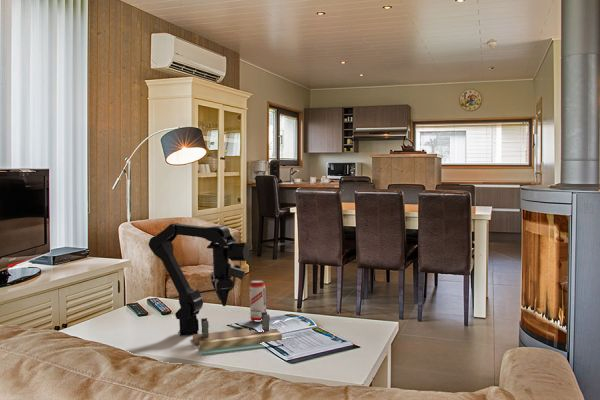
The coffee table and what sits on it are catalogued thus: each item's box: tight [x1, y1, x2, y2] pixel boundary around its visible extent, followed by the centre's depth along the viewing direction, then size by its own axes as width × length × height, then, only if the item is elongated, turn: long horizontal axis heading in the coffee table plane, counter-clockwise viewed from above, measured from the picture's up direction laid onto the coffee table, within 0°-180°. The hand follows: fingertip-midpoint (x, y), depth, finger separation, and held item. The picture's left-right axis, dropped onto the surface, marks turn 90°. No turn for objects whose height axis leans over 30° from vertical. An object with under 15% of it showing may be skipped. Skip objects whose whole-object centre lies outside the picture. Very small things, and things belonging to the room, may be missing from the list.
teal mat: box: [198, 344, 265, 356], centre depth 182 cm, size 28×9×1 cm, turn 106°
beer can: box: [249, 279, 267, 322], centre depth 212 cm, size 6×6×16 cm
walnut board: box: [192, 328, 280, 346], centre depth 192 cm, size 30×8×2 cm, turn 106°
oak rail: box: [198, 331, 283, 352], centre depth 182 cm, size 28×2×2 cm, turn 106°
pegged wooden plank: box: [200, 311, 271, 338], centre depth 192 cm, size 24×5×6 cm, turn 106°
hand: (222, 303), depth 194 cm, fingers open, 9 cm apart
